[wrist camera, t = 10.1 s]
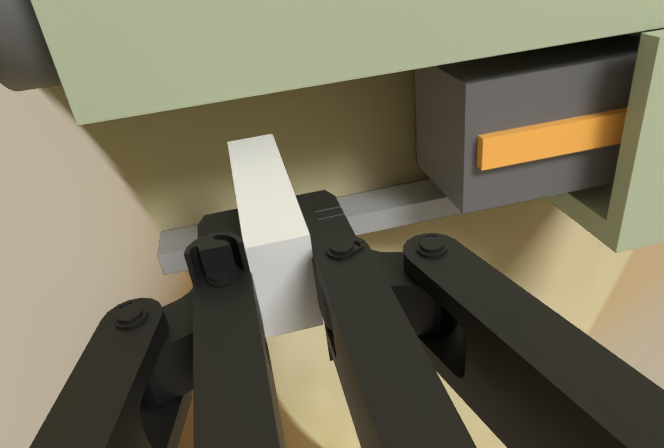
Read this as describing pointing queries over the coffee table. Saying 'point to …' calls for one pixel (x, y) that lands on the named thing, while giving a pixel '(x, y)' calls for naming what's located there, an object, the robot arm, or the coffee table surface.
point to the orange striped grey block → (524, 121)
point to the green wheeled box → (336, 77)
